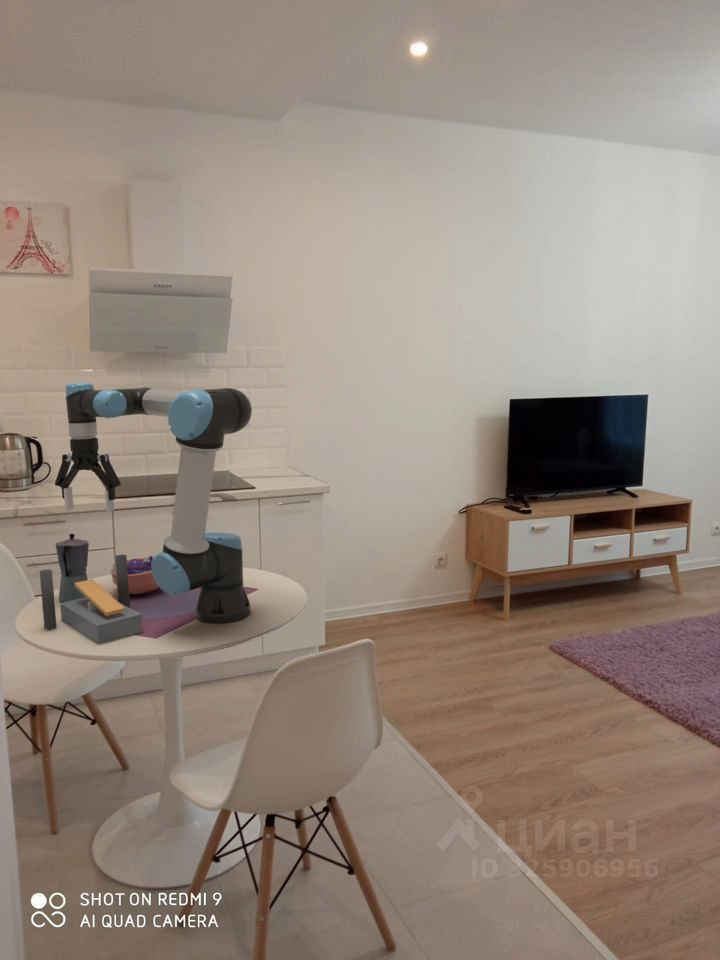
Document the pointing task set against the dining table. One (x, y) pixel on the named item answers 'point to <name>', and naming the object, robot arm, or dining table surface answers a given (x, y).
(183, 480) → the robot arm
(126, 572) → the post
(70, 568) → the moka pot
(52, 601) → the post
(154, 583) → the cell model
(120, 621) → the block
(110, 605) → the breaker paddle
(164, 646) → the dining table surface
